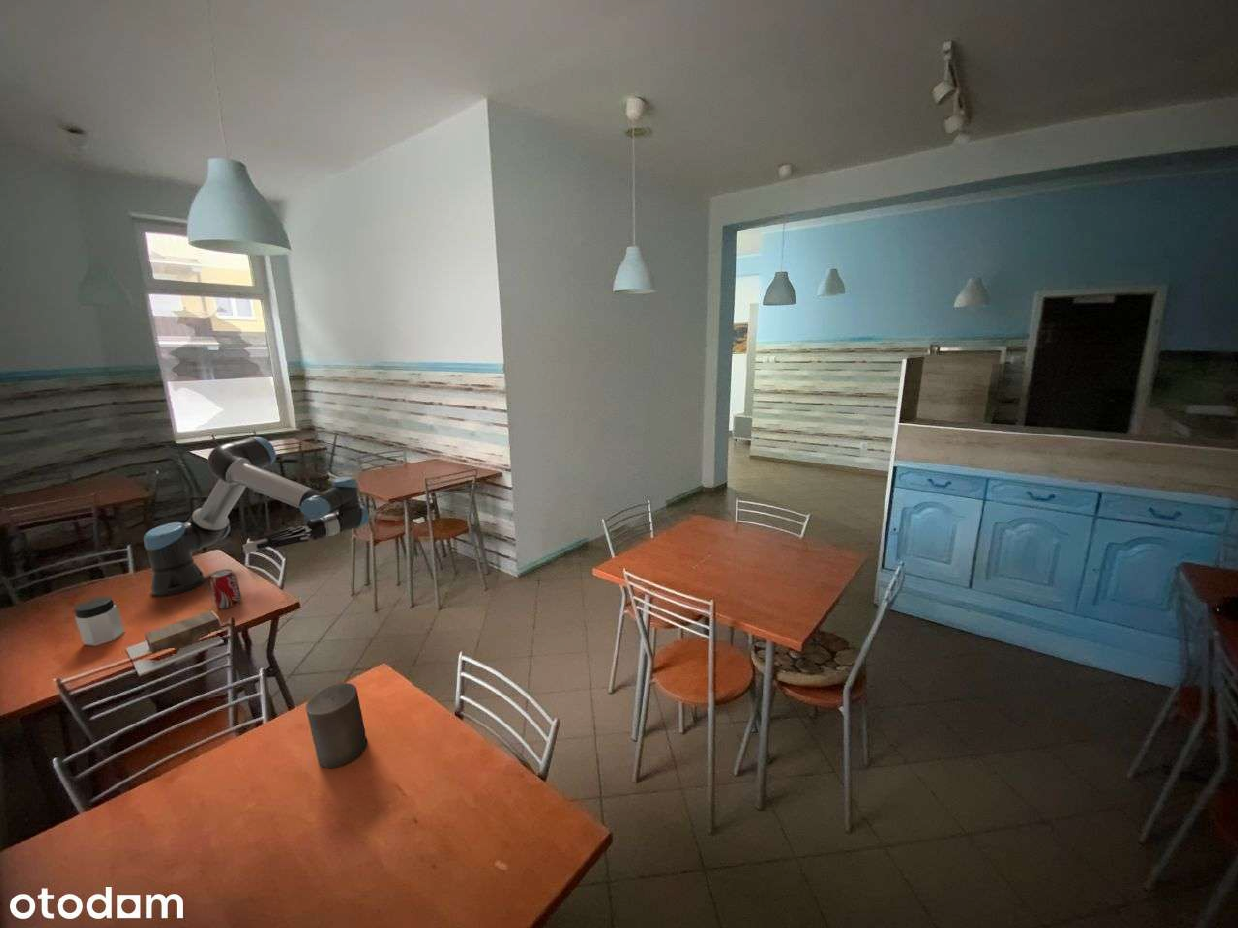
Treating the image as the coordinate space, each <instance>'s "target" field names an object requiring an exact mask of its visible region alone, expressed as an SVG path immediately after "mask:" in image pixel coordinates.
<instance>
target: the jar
mask: <svg viewBox="0 0 1238 928" xmlns="http://www.w3.org/2000/svg"><path fill="white" fill-rule="evenodd" d="M74 613H75V615H76V616H75V617H74V619H75V622H76V625H77V628H78V631H79V634H80V636H81V640H82V642H83V645H87V646H95V647H96V646H99V645H102V644H104V643H109V642H112V641H114V640H116V639H117V638H118V637H120V636H121V635H122V634H123V633H124V632H125V628H124V625H123V622H122V620H121V615H120V612H119V610H118V607H117V605H116V604H114V600H113V598H112V597H110V596H102V597H96V598H93V599H90V600H86V601H84V602H82V603H80V604H78V605H77V606H75V608H74Z"/></svg>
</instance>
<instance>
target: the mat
mask: <svg viewBox="0 0 1238 928" xmlns="http://www.w3.org/2000/svg"><path fill="white" fill-rule="evenodd" d="M224 643H225V642H224V639H222V638H221V636H220V635H219V636H217V637H214V638H210V639H207V640H204V641H200V642H197V643H194V644H192V645H189V646H186V647H183V648H181V649H179V651H177V654H173V656H174V657H168V659H161V660H162V661H156V660H155V661H154V660H141V661H137V662H135V663H133V662H132V664H133V666H134V668H135V670H136V672H137V674H138V676H139V677H141V676H144V675H146V674H149V673H152V672H154V671H156V670H159V669H162V668H165V667H167V666H169V665H172V664H175V663H177V662H180V661H182V660H184V659H187V658H189V657H191V656H195V655H197V654H200V653H202V652H205V651H207V650H209V649H212V648H215V647H218V646H219V645H222V644H224ZM125 650H126V652H127V654H128V657H129V659H131V658H135V657H138V656H142V655H144V654H147V653H148V652H151V651H150V649H149V646H148V643H147V640H145V641H141V642H140V643H136V644H133V645H130V646H128V647H126V648H125ZM153 662H156V663H153Z"/></svg>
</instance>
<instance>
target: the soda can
mask: <svg viewBox="0 0 1238 928" xmlns="http://www.w3.org/2000/svg"><path fill="white" fill-rule="evenodd" d="M210 577H211V578H210V579H209V582H210V587H211V591H212V595H213V599H214V602H215V604H216V608H218V609H229V608H230V609H231V608H232V607H235V606H237V605H238V604H239V603H240V602H241V601H242V597H241V591H240V586H239V583H238V579H237V576H236V573H235V572H233V570H232V569H222V570H217V571H215V572H213V573H212V574H211V575H210Z"/></svg>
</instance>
